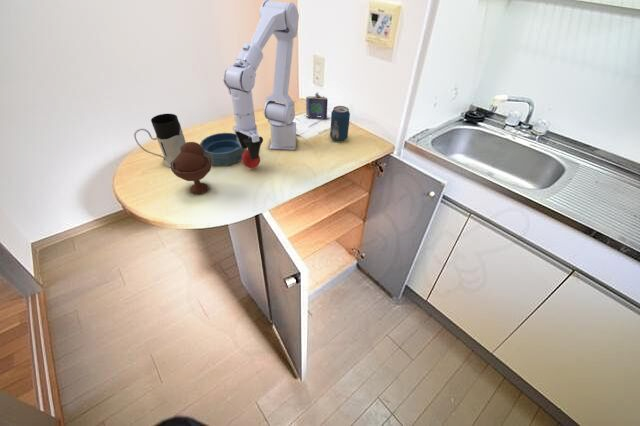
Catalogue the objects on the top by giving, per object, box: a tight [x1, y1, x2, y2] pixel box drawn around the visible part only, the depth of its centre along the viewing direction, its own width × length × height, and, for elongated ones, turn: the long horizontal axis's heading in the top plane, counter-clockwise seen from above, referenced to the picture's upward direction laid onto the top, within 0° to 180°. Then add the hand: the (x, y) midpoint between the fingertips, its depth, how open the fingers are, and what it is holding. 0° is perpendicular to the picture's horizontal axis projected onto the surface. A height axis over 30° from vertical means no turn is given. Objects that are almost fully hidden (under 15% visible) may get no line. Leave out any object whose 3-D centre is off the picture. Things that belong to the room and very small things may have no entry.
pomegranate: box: [241, 148, 261, 170], centre depth 95 cm, size 6×6×8 cm
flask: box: [305, 92, 329, 120], centre depth 126 cm, size 9×3×11 cm, turn 84°
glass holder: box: [133, 113, 187, 168], centre depth 94 cm, size 9×14×15 cm, turn 131°
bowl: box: [199, 132, 247, 167], centre depth 102 cm, size 15×15×5 cm
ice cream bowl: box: [170, 141, 212, 196], centre depth 83 cm, size 11×11×15 cm
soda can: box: [329, 105, 351, 143], centre depth 111 cm, size 7×7×12 cm
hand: (250, 152), depth 94 cm, fingers open, 7 cm apart
